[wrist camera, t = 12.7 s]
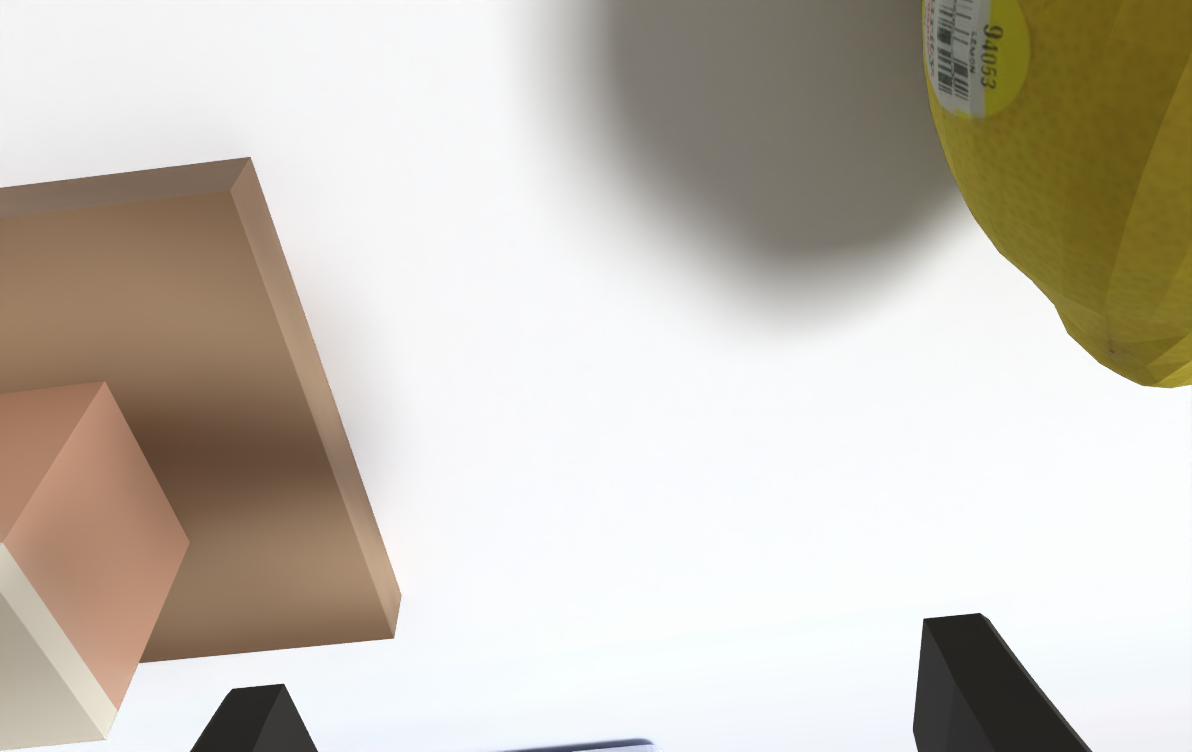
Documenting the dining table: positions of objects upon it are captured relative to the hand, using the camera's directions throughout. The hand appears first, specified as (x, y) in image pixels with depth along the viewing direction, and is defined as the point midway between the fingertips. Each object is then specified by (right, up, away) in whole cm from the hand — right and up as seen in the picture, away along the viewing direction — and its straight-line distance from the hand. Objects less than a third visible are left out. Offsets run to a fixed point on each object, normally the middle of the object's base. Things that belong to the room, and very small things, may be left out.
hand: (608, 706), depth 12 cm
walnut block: (-12, +3, +11) cm, 17 cm away
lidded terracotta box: (-12, +2, +10) cm, 15 cm away
